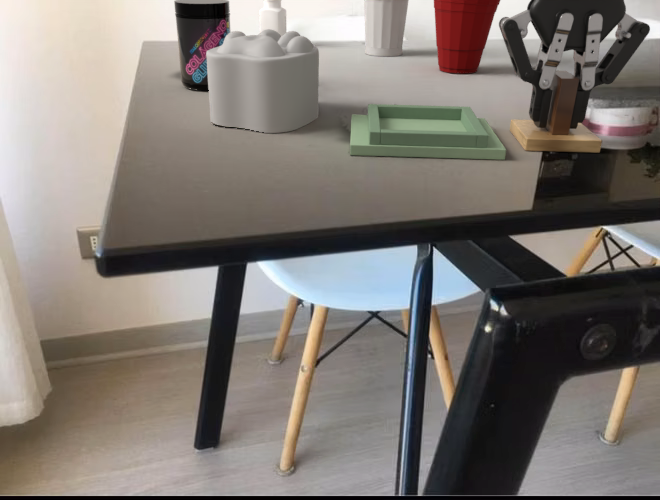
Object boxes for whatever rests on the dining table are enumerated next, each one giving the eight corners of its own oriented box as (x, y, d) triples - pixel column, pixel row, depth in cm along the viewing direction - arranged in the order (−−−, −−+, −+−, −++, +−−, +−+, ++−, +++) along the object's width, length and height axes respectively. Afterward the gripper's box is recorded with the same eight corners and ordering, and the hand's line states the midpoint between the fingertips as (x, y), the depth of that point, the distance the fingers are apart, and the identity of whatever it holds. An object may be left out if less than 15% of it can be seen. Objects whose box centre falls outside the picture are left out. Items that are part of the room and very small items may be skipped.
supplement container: (174, 90, 80) (166, 2, 75) (190, 80, 86) (183, -3, 81) (226, 93, 79) (221, 4, 74) (238, 82, 85) (235, -1, 81)
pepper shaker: (268, 43, 117) (266, -13, 113) (287, 44, 116) (287, -12, 111) (258, 46, 113) (256, -11, 109) (279, 47, 112) (278, -10, 108)
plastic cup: (510, 73, 94) (523, -14, 89) (455, 79, 89) (464, -12, 84) (462, 61, 102) (470, -19, 97) (408, 67, 97) (414, -18, 92)
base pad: (483, 127, 67) (486, 106, 66) (504, 160, 57) (508, 136, 56) (351, 123, 67) (351, 103, 66) (349, 155, 57) (350, 131, 56)
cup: (394, 48, 113) (398, -24, 108) (414, 56, 106) (420, -21, 101) (353, 50, 111) (355, -24, 105) (371, 58, 104) (375, -21, 99)
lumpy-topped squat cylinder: (197, 123, 66) (190, 37, 62) (256, 98, 77) (253, 23, 73) (287, 135, 62) (286, 45, 59) (335, 107, 73) (337, 29, 69)
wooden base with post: (577, 132, 65) (589, 68, 63) (600, 153, 59) (615, 83, 56) (509, 130, 66) (518, 66, 63) (525, 150, 59) (536, 81, 57)
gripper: (518, -74, 51) (490, 135, 59) (693, -71, 51) (642, 139, 58) (500, -73, 58) (477, 114, 65) (654, -70, 57) (612, 118, 65)
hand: (555, 125), depth 62 cm, fingers closed
